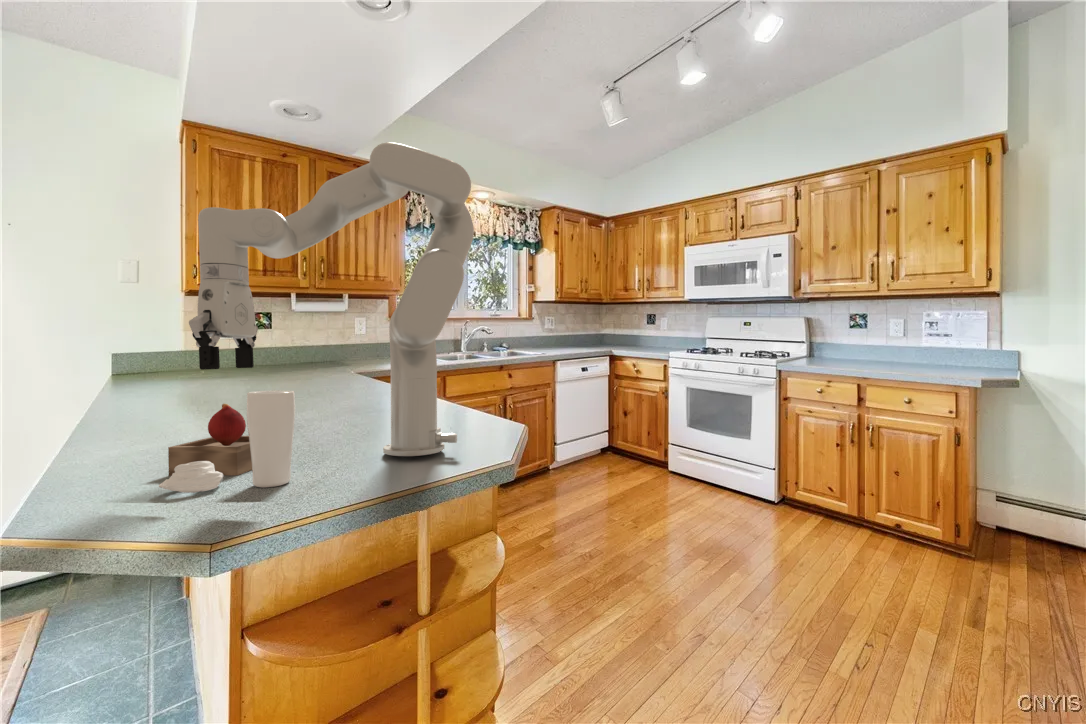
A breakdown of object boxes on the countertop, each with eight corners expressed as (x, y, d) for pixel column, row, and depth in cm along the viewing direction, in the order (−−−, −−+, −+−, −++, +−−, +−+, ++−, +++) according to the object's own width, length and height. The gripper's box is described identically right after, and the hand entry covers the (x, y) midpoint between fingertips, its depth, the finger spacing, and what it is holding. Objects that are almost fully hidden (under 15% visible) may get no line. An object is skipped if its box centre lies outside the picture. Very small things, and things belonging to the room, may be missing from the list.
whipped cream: (158, 502, 67) (158, 468, 67) (159, 492, 72) (158, 460, 72) (225, 492, 72) (225, 460, 72) (221, 483, 77) (221, 454, 77)
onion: (241, 442, 92) (240, 401, 92) (249, 445, 88) (248, 402, 88) (205, 446, 88) (204, 404, 88) (211, 450, 83) (210, 405, 84)
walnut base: (276, 460, 94) (276, 435, 93) (237, 475, 82) (237, 446, 81) (216, 460, 93) (216, 435, 93) (168, 475, 81) (168, 447, 81)
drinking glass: (264, 478, 79) (264, 390, 79) (303, 478, 79) (303, 390, 79) (237, 489, 72) (236, 393, 72) (280, 490, 72) (279, 393, 72)
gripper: (212, 268, 79) (216, 369, 79) (271, 283, 96) (274, 367, 96) (168, 269, 79) (171, 370, 79) (235, 284, 96) (238, 367, 96)
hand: (228, 368), depth 88 cm, fingers open, 9 cm apart
